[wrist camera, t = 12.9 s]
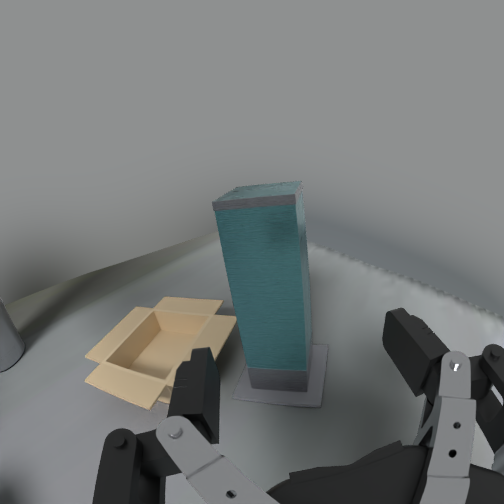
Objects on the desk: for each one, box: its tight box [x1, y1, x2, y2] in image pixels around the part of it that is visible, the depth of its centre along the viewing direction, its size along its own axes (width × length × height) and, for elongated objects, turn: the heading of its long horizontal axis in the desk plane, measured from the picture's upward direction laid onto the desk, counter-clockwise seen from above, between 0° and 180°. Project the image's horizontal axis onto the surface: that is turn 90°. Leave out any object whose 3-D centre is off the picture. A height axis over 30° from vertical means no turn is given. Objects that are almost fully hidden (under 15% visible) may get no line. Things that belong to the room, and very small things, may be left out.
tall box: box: [212, 181, 313, 392], centre depth 21 cm, size 5×5×17 cm
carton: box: [84, 297, 237, 410], centre depth 27 cm, size 15×17×4 cm
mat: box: [232, 344, 328, 408], centre depth 24 cm, size 8×8×1 cm
